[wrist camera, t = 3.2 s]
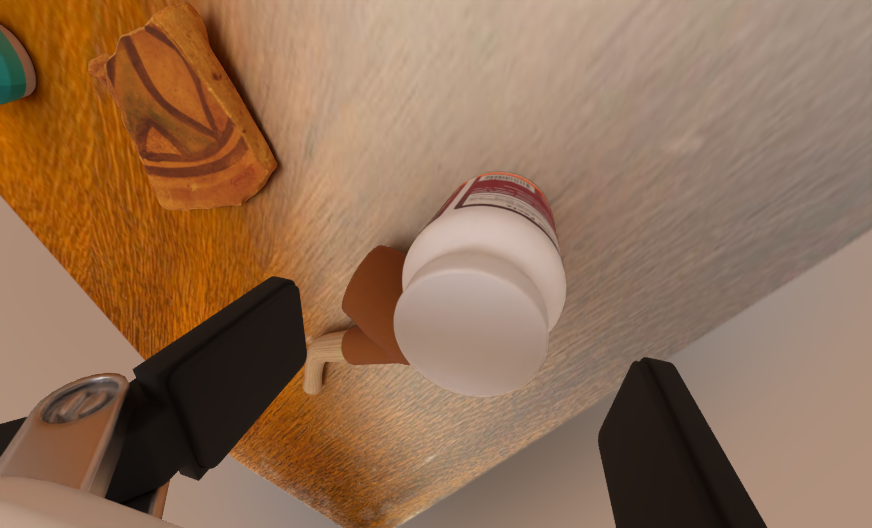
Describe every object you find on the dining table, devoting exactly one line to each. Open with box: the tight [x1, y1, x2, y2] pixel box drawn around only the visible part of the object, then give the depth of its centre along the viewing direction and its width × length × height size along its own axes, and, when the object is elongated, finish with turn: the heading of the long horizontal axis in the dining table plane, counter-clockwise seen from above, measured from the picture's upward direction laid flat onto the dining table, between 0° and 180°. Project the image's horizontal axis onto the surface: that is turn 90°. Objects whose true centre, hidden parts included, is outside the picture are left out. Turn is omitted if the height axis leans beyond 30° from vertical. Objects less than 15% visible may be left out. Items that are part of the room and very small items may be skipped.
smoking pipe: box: [303, 245, 410, 395], centre depth 23 cm, size 7×18×6 cm, turn 144°
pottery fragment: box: [88, 2, 277, 211], centre depth 20 cm, size 10×5×10 cm
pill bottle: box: [394, 172, 566, 397], centre depth 14 cm, size 6×6×11 cm
